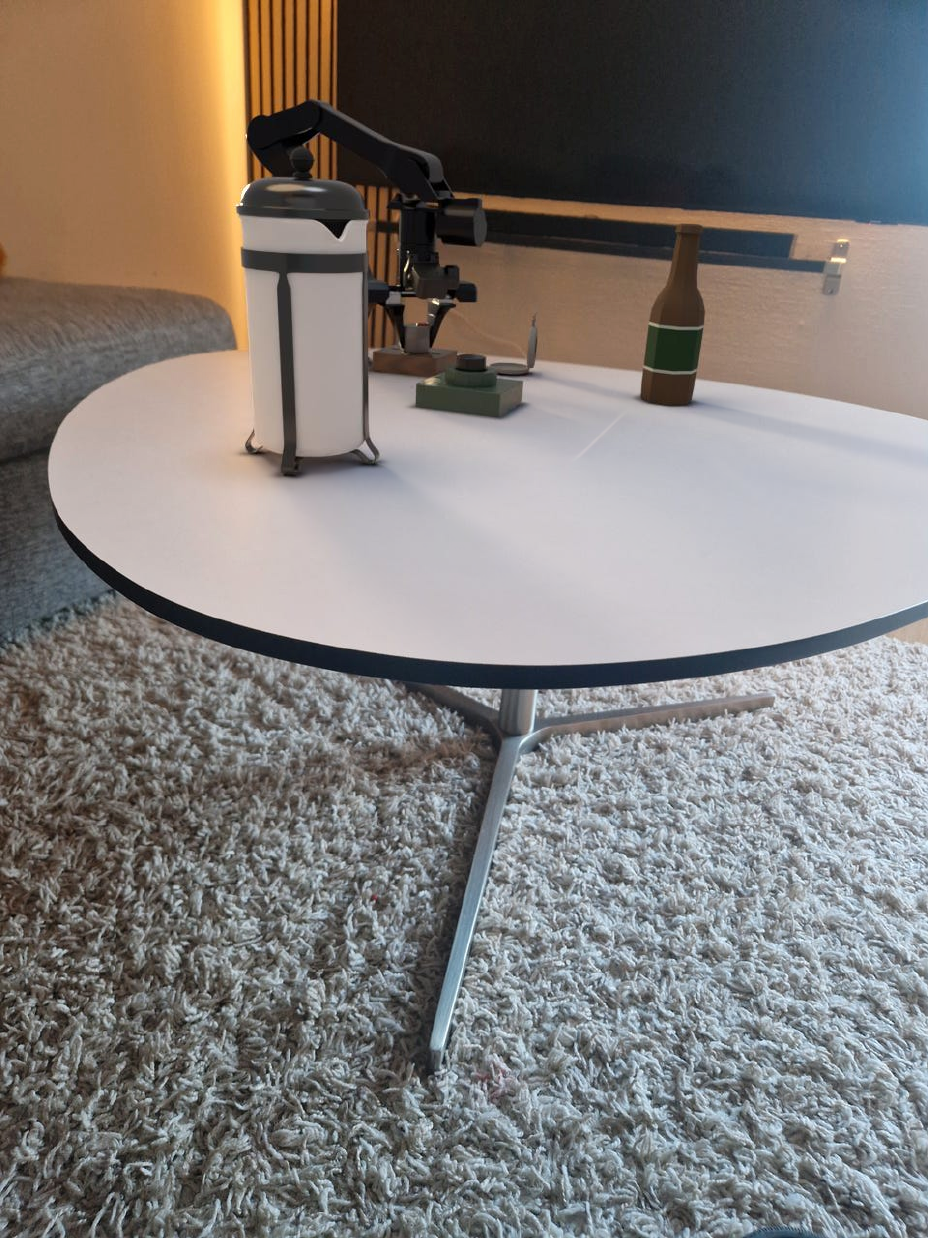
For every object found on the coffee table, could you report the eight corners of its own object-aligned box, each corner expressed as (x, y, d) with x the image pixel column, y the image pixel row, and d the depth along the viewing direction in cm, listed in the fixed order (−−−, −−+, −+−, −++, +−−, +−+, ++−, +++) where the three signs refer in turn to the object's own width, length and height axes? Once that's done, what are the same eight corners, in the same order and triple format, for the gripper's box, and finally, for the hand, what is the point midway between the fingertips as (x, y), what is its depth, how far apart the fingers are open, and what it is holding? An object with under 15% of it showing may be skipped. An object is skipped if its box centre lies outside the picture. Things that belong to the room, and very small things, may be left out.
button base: (415, 407, 122) (416, 369, 120) (443, 394, 130) (444, 358, 128) (498, 418, 118) (500, 379, 116) (521, 403, 126) (524, 367, 124)
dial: (407, 353, 142) (407, 325, 140) (398, 348, 146) (399, 321, 144) (433, 352, 144) (433, 324, 142) (424, 348, 148) (424, 321, 146)
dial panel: (373, 370, 144) (372, 350, 143) (396, 362, 152) (396, 343, 150) (436, 378, 141) (436, 357, 139) (456, 369, 148) (457, 349, 147)
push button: (452, 372, 121) (452, 356, 120) (462, 367, 124) (463, 352, 124) (479, 375, 120) (480, 359, 119) (489, 370, 123) (490, 355, 122)
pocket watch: (482, 369, 149) (485, 306, 145) (526, 367, 153) (530, 305, 148) (504, 378, 143) (508, 313, 138) (550, 376, 146) (555, 312, 142)
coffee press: (402, 446, 103) (405, 153, 90) (350, 484, 89) (345, 144, 76) (265, 430, 107) (250, 147, 94) (194, 464, 93) (164, 138, 80)
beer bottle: (688, 396, 136) (714, 224, 126) (695, 407, 129) (723, 226, 119) (637, 393, 137) (658, 221, 126) (641, 404, 130) (664, 223, 119)
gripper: (374, 245, 128) (374, 357, 135) (494, 248, 135) (488, 355, 141) (353, 240, 137) (354, 345, 144) (466, 243, 144) (462, 343, 151)
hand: (415, 347), depth 145 cm, fingers closed on dial, 4 cm apart
